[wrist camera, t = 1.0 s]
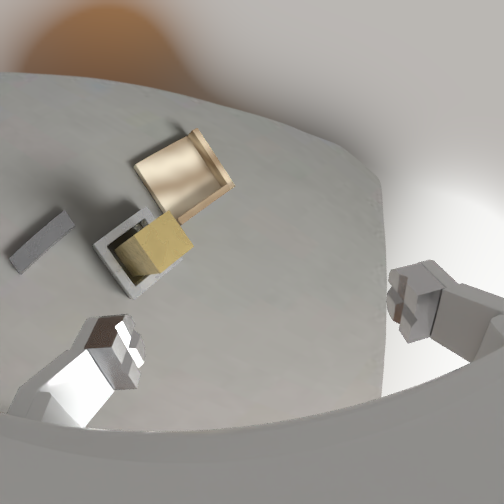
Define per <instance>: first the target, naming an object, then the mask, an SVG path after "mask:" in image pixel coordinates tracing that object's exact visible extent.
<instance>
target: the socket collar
mask: <svg viewBox="0 0 504 504" xmlns="http://www.w3.org/2000/svg"><path fill="white" fill-rule="evenodd" d="M154 220H155V217H154V216H153V214H152V213H151V211H150V210H149V208H148V207H147V206H146V207H144V208H143V209H141V210H140V211H138V212H137V213H135V214H134V215H133V216H131V217H130V218H128V219H127V220H126V221H124V222H123V223H121V224H120V225H119V226H117V227H116V228H114V229H113V230H112V231H110V232H109V233H108V234H106V235H105V236H104V237H102V238H101V239H100V240H98V241H97V242H96V243H94V245H93V246H92V247H93V248H94V250H95V251H96V253H97V254H98V256H99V257H100V258H101V260H102V261H103V263H104V264H105V266H106V267H107V268H108V270H109V271H110V273H111V274H112V275H113V277H114V278H115V279H116V281H117V282H118V283H119V285H120V286H121V288H122V289H123V290H124V291H125V293H126V294H127V295H128V297H129V298H130V299H133V300H135V299H136V298H137V297H138V296H140V295H141V294H142V293H143V292H144V291H146V290H147V289H148V288H149V287H150V286H151V285H153V284H154V283H155V282H156V281H157V280H159V279H160V278H161V277H162V276H163V275H165V274H166V273H167V272H168V271H169V270H171V269H172V268H173V267H174V266H176V265H177V264H178V263H179V262H180V261H182V260H183V258H182V256H181V257H180V258H179V259H178V260H176V261H175V262H174V263H173V264H172V265H170V266H169V267H168V268H167V269H165V270H164V271H163V272H162V273H159V274H150V275H145V276H143V277H142V278H141V279H140V280H138V281H137V282H136V283H135V284H133V283H132V281H131V280H130V279H129V277H128V276H127V274H126V273H125V272H124V270H123V269H122V268H121V266H120V265H119V263H118V262H117V261H116V259H115V258H114V256H113V255H112V254H111V252H110V251H109V249H108V248H107V246H108V245H109V244H111V243H112V242H113V241H115V240H116V239H117V238H119V237H120V236H121V235H123V234H124V233H125V232H127V231H128V230H129V229H131V228H132V227H134V226H135V225H136V224H138V223H139V222H140V223H141V225H142V226H143V228H144V227H146V226H147V225H148V224H150V223H151V222H153V221H154Z"/></svg>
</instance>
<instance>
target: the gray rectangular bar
mask: <svg viewBox="0 0 504 504" xmlns="http://www.w3.org/2000/svg"><path fill="white" fill-rule="evenodd" d="M74 227H75V224H74V223H73V221H72V220H71V218H70V217H69V216H68V214H67V213H66V211H65V210H64V211H63V212H61V213H60V214H59V215H58V216H56V217H55V218H54V219H53V220H52V221H50V222H49V223H48V224H47V225H46V226H44V227H43V228H42V229H41V230H40V231H39V232H37V233H36V234H35V235H34V236H33V237H32V238H31V239H29V240H28V241H27V242H26V243H25V244H24V245H23V246H22V247H21V248H20V249H19V250H17V251H16V252H15V253H14V254H13V255H12V256H11V257H10V258H9V259H10V261H11V262H12V264H13V265H14V267H15V268H16V270H17V271H18V273H19V274H21V275H22V274H23V273H24V272H25V271H26V270H27V269H28V268H29V267H30V266H31V265H32V264H33V263H34V262H35V261H37V260H38V259H39V258H40V257H41V256H42V255H43V254H44V253H45V252H46V251H48V250H49V249H50V248H51V247H52V246H53V245H54V244H56V243H57V242H58V241H59V240H60V239H61V238H62V237H64V236H65V235H66V234H67V233H68V232H70V231H71V230H72V229H73V228H74Z"/></svg>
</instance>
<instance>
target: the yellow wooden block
mask: <svg viewBox="0 0 504 504" xmlns="http://www.w3.org/2000/svg"><path fill="white" fill-rule="evenodd" d="M193 247H194V246H193V244H192V243H191V241H190V240H189V239H188V237H187V236H186V234H185V233H184V231H183V230H182V228H181V227H180V225H179V224H178V222H177V221H176V220H175V218H174V217H173V215H172V214H171V212H170V211H169V210H168V211H167V212H165V213H164V214H162V215H161V216H160V217H158V218H157V219H155V220H154V221H153V222H151V223H150V224H148V225H147V226H146V227H144V228H143V229H141V230H140V231H139V232H137V233H136V234H135V235H133V236H132V237H131V238H129V239H128V240H127V241H125V242H124V243H123V244H121V245H120V246H119V247H117V248H116V249H115V250H114V251H115V253H116V254H117V256H118V257H119V259H120V260H121V261H122V263H123V264H124V266H125V267H126V268H127V270H128V271H129V272H130V274H131V275H132V276H140V275H150V274H159V273H162V272H163V271H164V270H165V269H167V268H168V267H169V266H170V265H172V264H173V263H174V262H175V261H176V260H178V259H179V258H180V257H181V256H183V255H184V254H185V253H186V252H188V251H189V250H190V249H191V248H193Z"/></svg>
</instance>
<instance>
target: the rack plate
mask: <svg viewBox="0 0 504 504" xmlns="http://www.w3.org/2000/svg"><path fill="white" fill-rule="evenodd" d="M134 169H135V170H136V172H137V173H138V175H139V177H140V178H141V180H142V181H143V183H144V184H145V186H146V187H147V189H148V190H149V192H150V193H151V195H152V196H153V198H154V199H155V201H156V203H157V204H158V206H159V207H160V209H161V210H162V211H163V213H165V212H167V211H168V210H169V211H170V212H171V214H172V215H173V217H174V218H175V220H176V221H177V222H178V224H179V225H182V224H183V223H185V222H186V221H187V220H189V219H190V218H191V217H193V216H194V215H196V214H197V213H198V212H200V211H201V210H202V209H204V208H205V207H207V206H208V205H209V204H211V203H212V202H214V201H215V200H216V199H218V198H219V197H221V196H222V195H224V194H225V193H226V192H228V191H229V190H231V189H232V188H234V187H235V185H234V183H233V182H232V180H231V178H230V177H229V175H228V174H227V172H226V171H225V169H224V168H223V166H222V165H221V163H220V162H219V160H218V158H217V157H216V155H215V154H214V152H213V151H212V149H211V148H210V146H209V145H208V143H207V142H206V140H205V139H204V137H203V136H202V134H201V133H200V131H199V130H198V128H196V129H194V130H192V131H191V133H190V134H189V135H188V136H186V137H184V138H182V139H180V140H178V141H176V142H174V143H173V144H171V145H169V146H167V147H165V148H163V149H161V150H160V151H158V152H156V153H154V154H152V155H151V156H149V157H147V158H145V159H144V160H142V161H140V162H139V163H137V164H135V166H134Z"/></svg>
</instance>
